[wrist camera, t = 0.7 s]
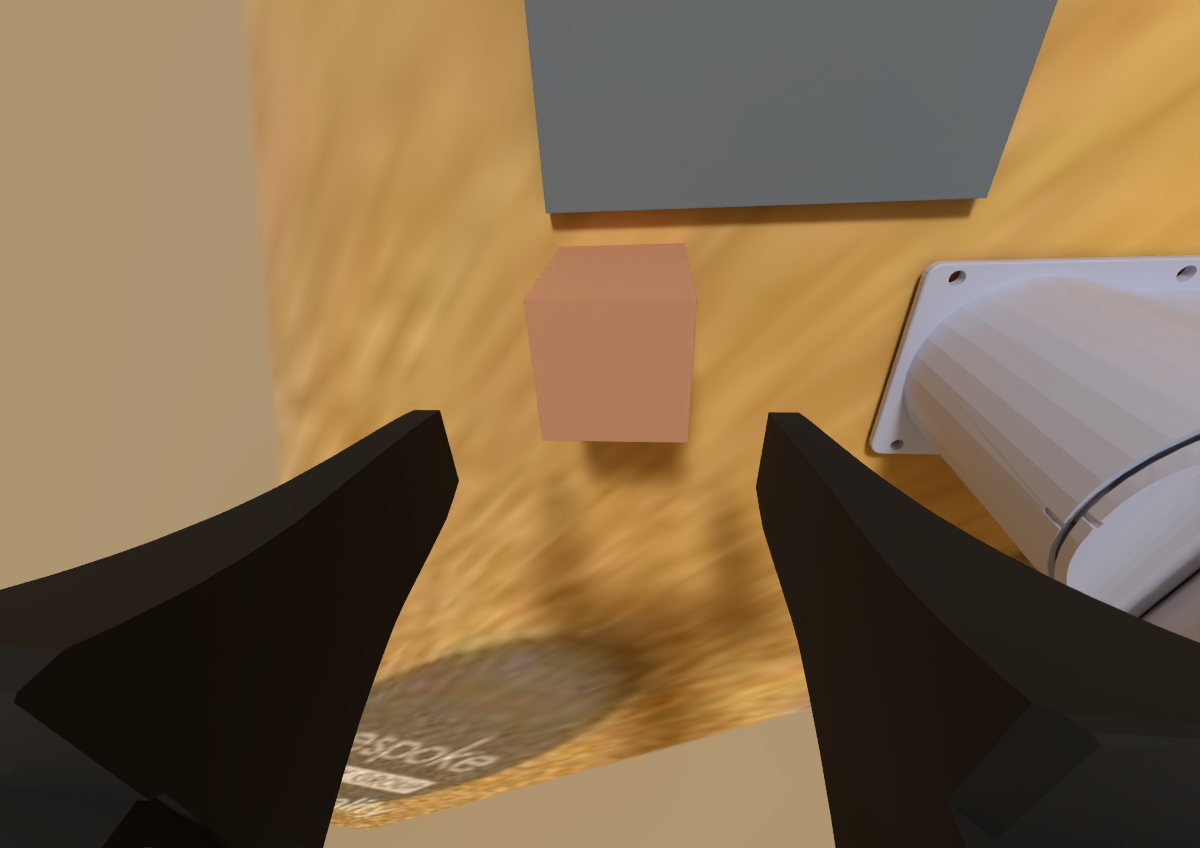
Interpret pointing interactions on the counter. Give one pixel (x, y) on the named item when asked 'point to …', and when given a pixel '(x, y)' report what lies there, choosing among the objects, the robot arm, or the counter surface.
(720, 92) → the mat
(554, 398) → the block
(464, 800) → the counter surface
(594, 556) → the counter surface
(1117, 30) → the counter surface
